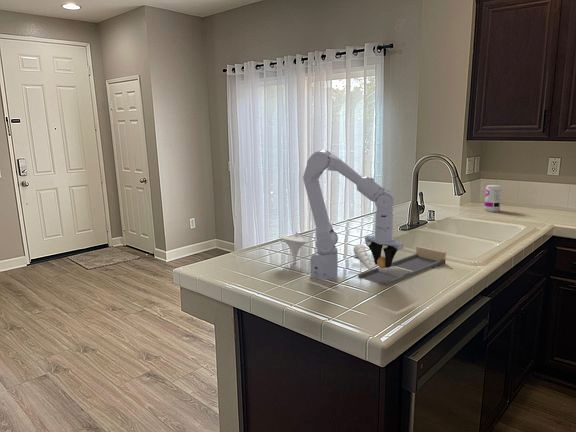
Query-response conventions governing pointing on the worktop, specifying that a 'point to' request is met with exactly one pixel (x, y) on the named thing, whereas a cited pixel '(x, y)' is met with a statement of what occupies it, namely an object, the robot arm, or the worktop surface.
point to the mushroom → (294, 243)
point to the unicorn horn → (362, 255)
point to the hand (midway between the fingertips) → (382, 265)
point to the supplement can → (492, 198)
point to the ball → (381, 262)
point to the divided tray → (406, 266)
